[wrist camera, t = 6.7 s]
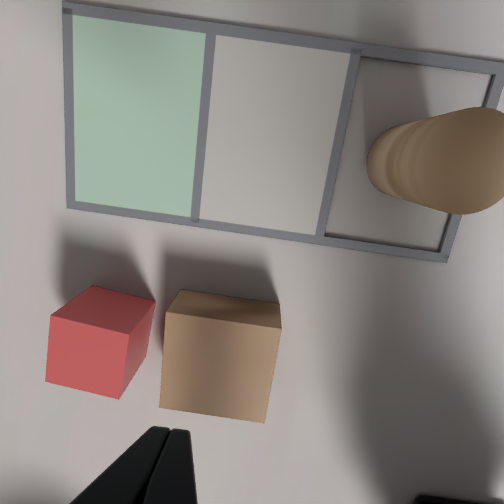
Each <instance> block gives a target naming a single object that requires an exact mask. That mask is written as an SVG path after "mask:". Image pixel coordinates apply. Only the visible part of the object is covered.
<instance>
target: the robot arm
mask: <svg viewBox="0 0 504 504" xmlns="http://www.w3.org/2000/svg"><path fill="white" fill-rule="evenodd" d="M70 504H198V503H197V493H196V483H195V474H194V464H193V454H192V445H191V435H190V432H189V431H188V430H182V429H172V430H170V429H169V428H166V427H158V426H153V427H151V428H150V429H148V430H147V431H146V432H145V433H144V434H143V435H142V436H141V437H140V438H139V439H138V440H137V441H136V442H135V443H134V444H132V445H131V446H130V447H129V448H128V449H127V450H126V451H125V452H124V453H123V454H122V455H121V456H120V457H119V458H118V459H116V460H115V461H114V462H113V463H112V464H111V465H110V466H109V467H108V468H107V469H106V470H105V471H104V472H103V473H102V474H101V475H99V476H98V477H97V478H96V479H95V480H94V481H93V482H92V483H91V484H90V485H89V486H88V487H87V488H86V489H85V490H83V491H82V492H81V493H80V494H79V495H78V496H77V497H76V498H75V499H74V500H73V501H72V502H71V503H70ZM414 504H476V503H469V502H462V501H456V500H449V499H442V498H436V497H429V496H419V497H417V498H416V500H415V502H414Z"/></svg>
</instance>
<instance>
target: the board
mask: <svg viewBox="0 0 504 504" xmlns="http://www.w3.org/2000/svg"><path fill="white" fill-rule="evenodd" d="M62 23H63V67H64V111H65V155H66V199H67V208H69V209H76V210H82V211H89V212H96V213H103V214H110V215H117V216H124V217H131V218H138V219H145V220H152V221H159V222H166V223H172V224H179V225H186V226H193V227H200V228H207V229H214V230H221V231H228V232H235V233H242V234H249V235H256V236H262V237H269V238H276V239H283V240H290V241H297V242H304V243H311V244H318V245H325V246H332V247H339V248H346V249H352V250H359V251H366V252H373V253H380V254H387V255H394V256H401V257H408V258H415V259H422V260H429V261H436V262H442V263H447V261H448V257H449V254H450V251H451V248H452V245H453V242H454V239H455V236H456V232H457V229H458V226H459V223H460V220H461V217H462V215H457V214H450V217H449V220H448V224H447V227H446V230H445V233H444V237H443V240H442V243H441V246H440V249H439V252H433V251H426V250H419V249H412V248H405V247H398V246H391V245H384V244H378V243H371V242H364V241H357V240H350V239H343V238H336V237H329V236H324V234H325V229H326V224H327V219H328V214H329V209H330V204H331V199H332V195H333V190H334V185H335V180H336V175H337V170H338V165H339V160H340V155H341V150H342V146H343V141H344V136H345V131H346V126H347V121H348V116H349V111H350V106H351V101H352V97H353V92H354V87H355V82H356V77H357V72H358V67H359V62H360V57H368V58H375V59H382V60H390V61H397V62H404V63H411V64H418V65H425V66H433V67H440V68H447V69H454V70H461V71H468V72H476V73H483V74H490V75H493V78H492V82H491V85H490V88H489V91H488V95H487V98H486V101H485V104H484V107H487V108H491V109H495V110H496V107H497V104H498V101H499V98H500V95H501V92H502V89H503V86H504V63H501V62H494V61H487V60H480V59H473V58H465V57H458V56H451V55H444V54H437V53H429V52H422V51H415V50H408V49H401V48H394V47H386V46H379V45H372V44H365V43H358V42H350V41H343V40H336V39H329V38H322V37H314V36H307V35H300V34H293V33H286V32H279V31H271V30H264V29H257V28H250V27H243V26H235V25H228V24H221V23H214V22H207V21H200V20H192V19H185V18H178V17H171V16H164V15H156V14H149V13H142V12H135V11H128V10H120V9H113V8H106V7H99V6H92V5H85V4H77V3H70V2H63V1H62Z"/></svg>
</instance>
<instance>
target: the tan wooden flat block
mask: <svg viewBox="0 0 504 504" xmlns="http://www.w3.org/2000/svg"><path fill="white" fill-rule="evenodd" d="M281 330H282V327H281V314H280V304H277V303H270V302H263V301H256V300H249V299H243V298H236V297H229V296H222V295H215V294H208V293H202V292H195V291H188V290H180V291H179V293H178V294H177V296H176V297H175V299H174V300H173V302H172V303H171V305H170V306H169V308H168V309H167V311H166V317H165V331H164V346H163V360H162V375H161V389H160V404H159V408H165V409H172V410H178V411H185V412H192V413H199V414H205V415H212V416H219V417H225V418H232V419H239V420H245V421H252V422H259V423H265V418H266V412H267V407H268V401H269V396H270V390H271V385H272V379H273V374H274V368H275V363H276V357H277V352H278V346H279V341H280V335H281Z"/></svg>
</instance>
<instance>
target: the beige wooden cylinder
mask: <svg viewBox="0 0 504 504" xmlns="http://www.w3.org/2000/svg"><path fill="white" fill-rule="evenodd" d="M367 172H368V176H369V178H370V180H371V182H372V183H373V185H374V186H375V187H376V188H377V189H378V190H380V191H381V192H383V193H385V194H388V195H391V196H394V197H397V198H401V199H404V200H407V201H410V202H414V203H417V204H420V205H423V206H426V207H430V208H433V209H436V210H439V211H443V212H446V213H450V214H457V215H464V214H472V213H476V212H479V211H482V210H484V209H487V208H488V207H490V206H492V205H494V204H495V203H497V202H498V201H499V200H500V199H502V198H503V197H504V113H502V112H500V111H498V110H495V109H491V108H487V107H472V108H467V109H463V110H459V111H455V112H451V113H447V114H443V115H439V116H435V117H431V118H427V119H423V120H419V121H414V122H410V123H406V124H402V125H398V126H395V127H392V128H390V129H388V130H386V131H385V132H383V133H382V134H381V135H380V136H379V137H378V138H377V139H376V140H375V142H374V143H373V145H372V146H371V148H370V151H369V153H368V157H367Z"/></svg>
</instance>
